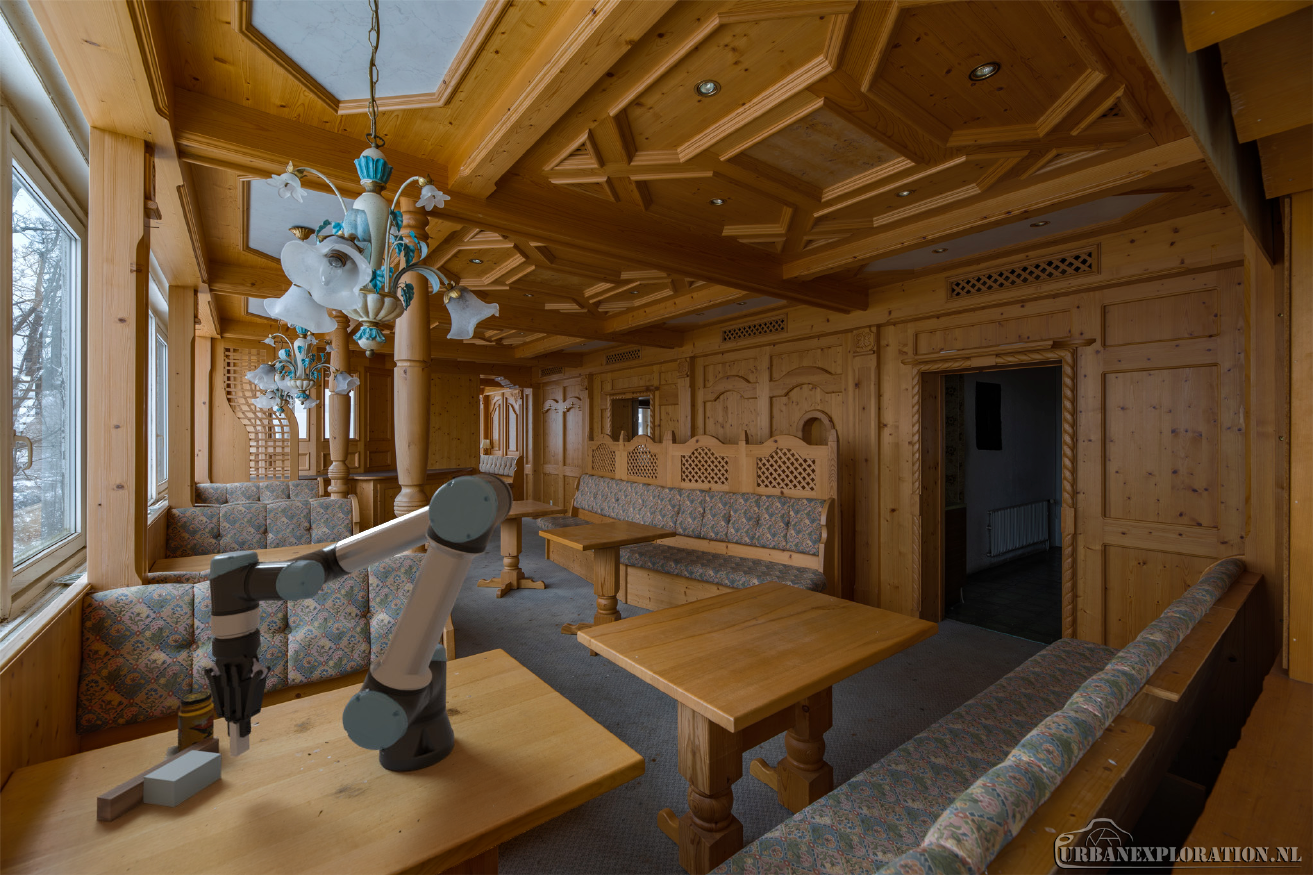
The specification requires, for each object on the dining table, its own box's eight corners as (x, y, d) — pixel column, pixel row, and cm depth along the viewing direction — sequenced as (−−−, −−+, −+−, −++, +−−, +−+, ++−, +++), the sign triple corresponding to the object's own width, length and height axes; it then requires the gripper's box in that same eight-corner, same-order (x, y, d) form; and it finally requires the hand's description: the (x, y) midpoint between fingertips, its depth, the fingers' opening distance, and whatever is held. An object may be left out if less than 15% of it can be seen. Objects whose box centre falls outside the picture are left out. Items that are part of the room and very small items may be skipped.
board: (218, 757, 116) (219, 738, 116) (110, 821, 97) (110, 799, 97) (207, 755, 117) (207, 737, 117) (96, 819, 97) (96, 797, 97)
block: (220, 778, 109) (221, 753, 110) (173, 808, 101) (174, 781, 101) (192, 774, 111) (192, 750, 111) (143, 803, 102) (143, 776, 102)
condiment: (213, 752, 118) (213, 697, 118) (161, 765, 113) (162, 708, 114) (217, 737, 124) (218, 685, 124) (168, 748, 120) (169, 694, 120)
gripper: (281, 625, 108) (285, 743, 108) (226, 624, 111) (229, 739, 110) (247, 639, 101) (251, 766, 101) (188, 638, 103) (192, 761, 103)
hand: (240, 752), depth 106 cm, fingers closed
